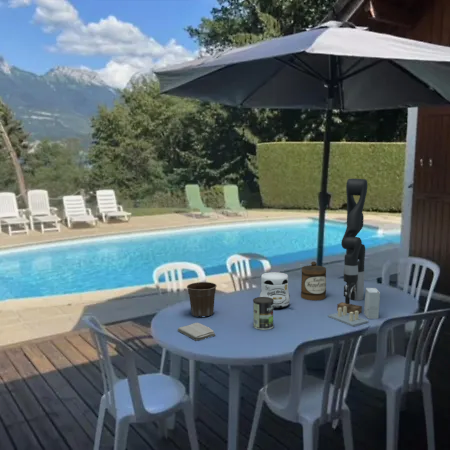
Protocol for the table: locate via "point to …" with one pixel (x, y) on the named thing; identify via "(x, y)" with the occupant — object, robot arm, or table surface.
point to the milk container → (275, 288)
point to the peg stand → (348, 317)
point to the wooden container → (313, 282)
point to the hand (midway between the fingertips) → (350, 301)
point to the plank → (350, 307)
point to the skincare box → (372, 303)
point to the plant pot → (202, 298)
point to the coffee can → (263, 313)
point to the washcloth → (197, 331)
